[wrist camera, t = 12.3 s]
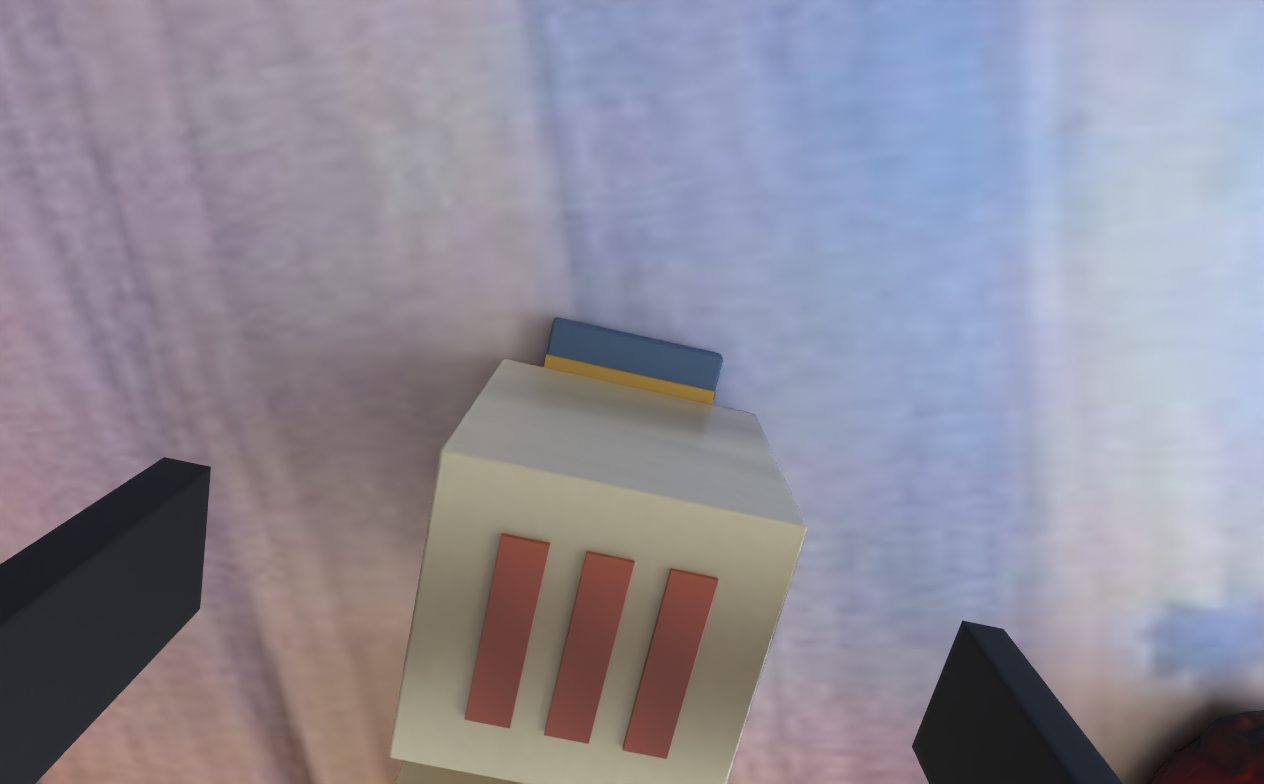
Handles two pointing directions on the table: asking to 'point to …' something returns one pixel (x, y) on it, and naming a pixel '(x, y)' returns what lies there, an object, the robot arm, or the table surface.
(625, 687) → the red striped cream cube
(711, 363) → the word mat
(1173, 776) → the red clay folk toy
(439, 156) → the table surface
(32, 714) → the robot arm
